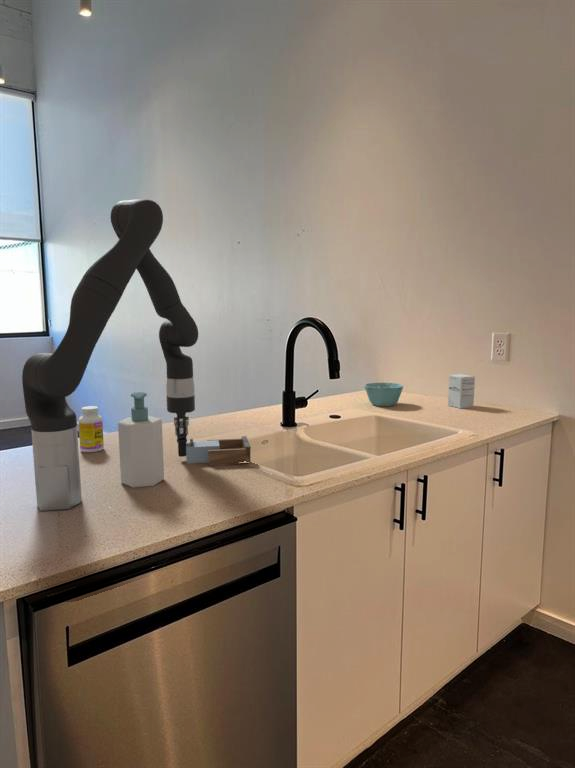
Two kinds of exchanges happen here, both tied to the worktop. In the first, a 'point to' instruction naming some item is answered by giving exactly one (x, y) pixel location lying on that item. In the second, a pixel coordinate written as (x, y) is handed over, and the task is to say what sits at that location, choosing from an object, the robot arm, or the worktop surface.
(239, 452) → the bay
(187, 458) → the blue slab with ledge
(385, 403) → the bowl
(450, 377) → the supplement box
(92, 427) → the supplement bottle
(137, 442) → the soap bottle
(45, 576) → the worktop surface
